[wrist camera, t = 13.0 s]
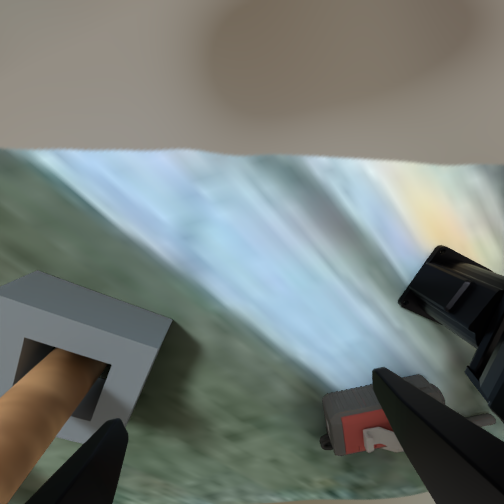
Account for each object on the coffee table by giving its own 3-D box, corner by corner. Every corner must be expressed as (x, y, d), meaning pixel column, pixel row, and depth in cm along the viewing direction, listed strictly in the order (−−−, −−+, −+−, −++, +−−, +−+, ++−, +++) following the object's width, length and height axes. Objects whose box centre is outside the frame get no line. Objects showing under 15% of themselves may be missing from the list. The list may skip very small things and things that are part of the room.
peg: (124, 354, 23) (-7, 549, 11) (87, 373, 23) (-78, 579, 11) (94, 320, 21) (-91, 498, 9) (56, 340, 22) (-167, 533, 10)
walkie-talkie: (319, 446, 28) (481, 413, 28) (332, 492, 24) (523, 454, 24) (309, 392, 26) (488, 355, 26) (323, 433, 22) (537, 389, 21)
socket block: (172, 319, 22) (158, 348, 18) (133, 409, 25) (114, 451, 21) (37, 270, 20) (-12, 291, 16) (12, 374, 23) (-35, 414, 19)
